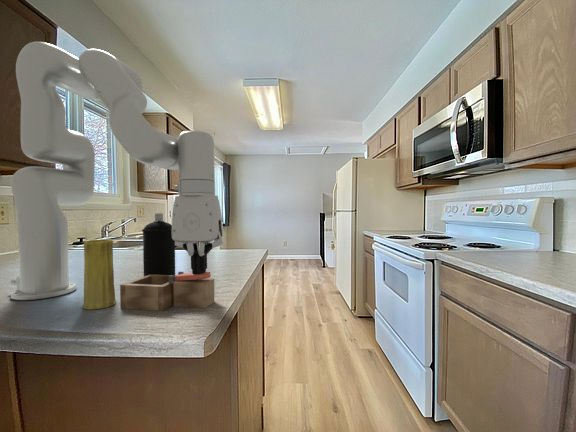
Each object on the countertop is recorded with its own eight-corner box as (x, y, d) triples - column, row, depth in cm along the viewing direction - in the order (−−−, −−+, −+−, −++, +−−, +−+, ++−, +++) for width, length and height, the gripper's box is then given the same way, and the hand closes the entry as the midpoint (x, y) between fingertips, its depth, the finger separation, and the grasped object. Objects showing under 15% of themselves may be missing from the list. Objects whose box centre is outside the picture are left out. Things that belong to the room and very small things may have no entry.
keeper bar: (170, 281, 63) (170, 276, 63) (178, 278, 66) (177, 273, 66) (207, 278, 62) (206, 274, 62) (212, 275, 65) (212, 271, 65)
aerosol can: (183, 286, 79) (182, 213, 79) (158, 294, 72) (157, 213, 71) (161, 283, 83) (160, 213, 82) (135, 290, 75) (134, 213, 75)
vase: (99, 311, 60) (98, 242, 60) (75, 309, 61) (73, 241, 61) (122, 301, 66) (121, 239, 66) (99, 300, 67) (98, 238, 67)
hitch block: (120, 308, 62) (120, 277, 62) (150, 294, 72) (149, 268, 71) (199, 312, 59) (199, 280, 59) (219, 298, 69) (219, 270, 68)
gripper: (155, 189, 61) (158, 276, 61) (223, 187, 59) (225, 277, 59) (175, 191, 68) (177, 269, 69) (235, 189, 66) (237, 270, 66)
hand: (199, 272), depth 64 cm, fingers closed
